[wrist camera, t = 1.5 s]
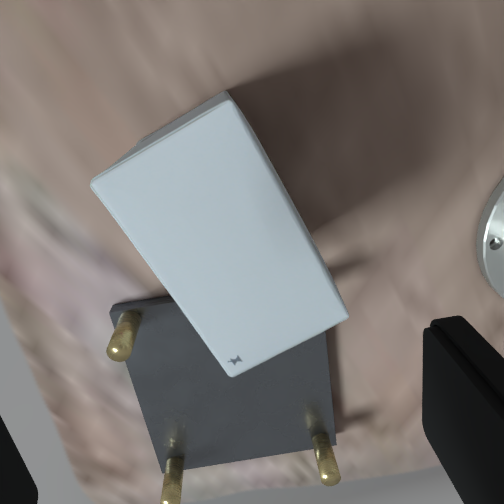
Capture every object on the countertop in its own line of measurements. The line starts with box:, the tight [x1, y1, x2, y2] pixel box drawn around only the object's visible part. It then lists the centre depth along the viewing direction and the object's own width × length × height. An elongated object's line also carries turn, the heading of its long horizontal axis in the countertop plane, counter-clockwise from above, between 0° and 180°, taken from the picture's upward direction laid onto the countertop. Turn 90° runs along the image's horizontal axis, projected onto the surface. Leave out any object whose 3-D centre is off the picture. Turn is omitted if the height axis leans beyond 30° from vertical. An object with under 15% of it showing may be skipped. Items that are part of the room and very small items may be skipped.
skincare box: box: [90, 91, 349, 377], centre depth 22 cm, size 10×6×10 cm, turn 29°
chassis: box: [106, 296, 341, 504], centre depth 30 cm, size 14×15×4 cm
